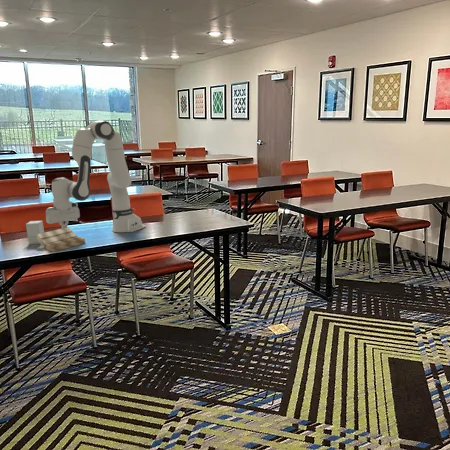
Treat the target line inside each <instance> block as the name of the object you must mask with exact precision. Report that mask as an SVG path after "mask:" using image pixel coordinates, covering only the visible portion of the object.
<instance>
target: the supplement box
mask: <svg viewBox="0 0 450 450" xmlns="http://www.w3.org/2000/svg"><path fill="white" fill-rule="evenodd" d="M25 227H26V235H27V240H28V244H29V245H39V244H40V245H42V244H41V243H40V242H39V241H38V239H37V234H41V233H45V229H44V220H30V221H28V222H26V223H25Z"/></svg>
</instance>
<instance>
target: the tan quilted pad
mask: <svg viewBox="0 0 450 450" xmlns="http://www.w3.org/2000/svg"><path fill="white" fill-rule="evenodd" d="M74 236H77V235H76V234H75V232H74V231H73V230H72V229H71V228H70V226H67V228H64V229H62V228H58V229H55V230H50V231H44V233H41V234H37V239H38V241H39V242H40V243H41V244H40V245H42V247H43V248H44V249H46V245H45V244H46V243H50V242H54V241H58V240H62V239H66V238H70V237H74Z"/></svg>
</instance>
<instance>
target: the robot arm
mask: <svg viewBox="0 0 450 450" xmlns="http://www.w3.org/2000/svg"><path fill="white" fill-rule="evenodd" d="M95 140H102V142H103V143H104V147H105V156H106V162H107V164H108V166H109V170H110V172H108V173H107V176H106V180H107V182H108V187H109V191H110V195H111V202H112V204H111V205H112V210H111V211H112V212H111V213H112V218H113V220H112V230H111V231H112V232H113V233H133V232H136V231H138V230H141V229H144V228H147V225H145V224H144V223H143V222H142V219H141V217H140V216H138V215H137V214H135V213H134V212H136V210H137V209H136V208H132V207H131V201H130V195H129V192H128V189H127V188H129V187H130V186H131V184H132V177H131V176H130V172H129V168H128V164H127V161H126V155H125V151H124V145H123V144H124V143H123V140H122V136H121V134H120V132H119V131H116V130H115V129H114V128H113V126H112V124H111V123H110V122H109V121H107V120H104V119H103V120H95V121H90V122H88V123H87V125H86V126H85V127H84V128H83V127H81V128H78V129H77V130H76V132H75V135H74V139H73V142H72V148H71V155H72V157H71V158H73V160H74V161H75V162H76V163H77V165H78V175H77V181H73V180H70V179H68V178H66V177H65V176H64V177H63V176H62V177H56V178H54V179H52V181H51V195H52V196H53V199H52V202H53V206H52V207H47V208H46V209H45V222H46V223H47V224H49V225H52V224H56V223H58V224H59V226H61V228H60V229H64V228H67V227H68V224H69V221H71V220H75V219H79V218H80V217H81V213H80V209H79V207H78V206H79V205H78V203H77V202H75V201H70V198H71V199H74V200H75V199H76V200H78V201H80V202H81V201H83V202H84V201H86V200H87V199H89V197H90V195H91V186H90V177H91V167H92V166H91V164H92V163H91V162H92V161H91V160H92V159H91V157H92V149H93V144H94V142H95Z"/></svg>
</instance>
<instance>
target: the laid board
mask: <svg viewBox="0 0 450 450" xmlns="http://www.w3.org/2000/svg"><path fill="white" fill-rule="evenodd" d="M83 244H86V238H85V237H81V236H78V235H76V236H74V237H70V238H66V239H62V240H58V241H54V242H50V243H46V244H45V245H46V247H45V250H47V251H50V252H57V251H61V250H65V249H69V248H72V247H76V246H80V245H83Z"/></svg>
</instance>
